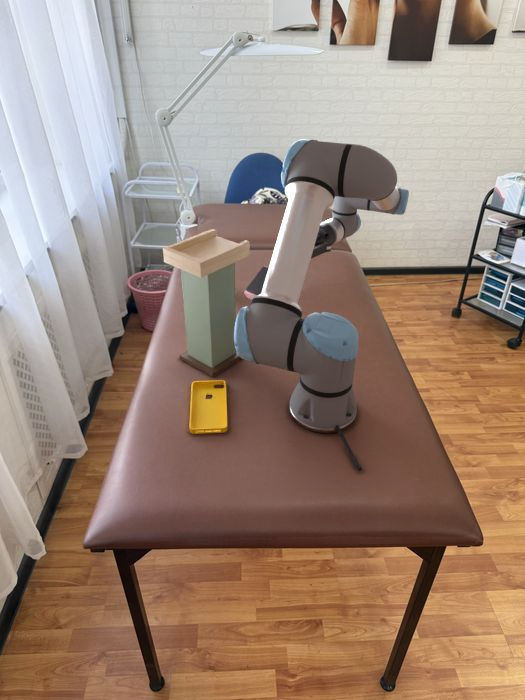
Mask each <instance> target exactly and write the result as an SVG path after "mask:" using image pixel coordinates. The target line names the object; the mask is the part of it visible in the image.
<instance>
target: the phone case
mask: <svg viewBox="0 0 525 700" xmlns="http://www.w3.org/2000/svg"><path fill="white" fill-rule="evenodd" d="M215 386H223V387H217V388H216V387H215ZM207 396H212V397H211V398H207ZM227 402H228V400H227V382H226V380H224V379H216V380H215V379H212V380H194V381H192V382H191V389H190V407H189V408H190V409H189V425H188V426H189V433H190V434H192V435H201V434H202V435H203V434H223V433H226V432H228V429H229V428H228V405H227V404H228V403H227Z"/></svg>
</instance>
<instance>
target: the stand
mask: <svg viewBox="0 0 525 700" xmlns="http://www.w3.org/2000/svg"><path fill="white" fill-rule="evenodd" d="M216 235H217V229H215V228H211V229H208V230H205V231H202V232H200V233H197V234H195V235H193V236H190V237H187V238H185V239H183V240H180V241H176V242H174V243H172V244H170V245H167V246H164V247H162V254H163V263H165V264H167V265H170V266H172V267H174V268H177V269H179V270H180V274H181V275H180V276H181V289H182V300H183V301H182V302H183V313H184V324H185V325H184V327H185V338H186V339H185V340H186V347H187V348H186V350H185V351H184V352H182V353H180V354H179V360H181V361H183V362H185V363H187V364H189V365H190V366H192V367H194V368H196V369H197V370H199V371H201V372H203V373H204V374H206V375H208V376H209V377H212V378H213V377H215V376H216V375H218V374H220V373H221V372H223V371H224V370H226V369H227V368H228V367H230V366H231V365H234V364H235V363H236V362H238V361H239V360H241V359H242V358H241V357H240V356H239V355H238V354H237V351H236V348H235V342H234V329H235V322H236V318H237V310H236V309H237V308H236V307H237V306H236V304H237V303H236V301H237V300H236V262H239V261H241V260H243V259H245V258H247V257H249V256H250V255H251V253H250V252H251V251H250V249H251V241H249V240H247V239H245V240H243V241H241V242H235V241H232V240H230V239H226V238H224V237H221V236H218V235H217V236H216Z"/></svg>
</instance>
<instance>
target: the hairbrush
mask: <svg viewBox="0 0 525 700" xmlns="http://www.w3.org/2000/svg"><path fill="white" fill-rule="evenodd" d="M268 268H269V266H266V265H263V266H262V267H261V269H260V270H259V271H258V272H257V273H256V274H255V276H254V278H253V279H252V281H251V282H249V284H248V285H247V287H246V288H245V290H244V292H243V293H244V295H245V297H246V298H247V299H249V300H251V301H252V299H253V297H255V296H257V295H259V294H261V292H262V289H263V285H264V282H265V279H266V275H267V272H268Z"/></svg>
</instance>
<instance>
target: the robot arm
mask: <svg viewBox="0 0 525 700" xmlns="http://www.w3.org/2000/svg"><path fill="white" fill-rule="evenodd" d="M280 180H281V185H282V187H283V189H284V194H285V196H286V198H287V199H288V201H287V203H286V204H287V205H286V208H285V211H284V215H283V218H282V221H281V225H280V228H279V232H278V235H277V239H276V242H275V245H274V248H273V251H272V252H271V259H270V261H269V265H268V267H269V268H268V272H267V275H266V279H265V282H264V285H263V289H262V292H261V294H259V295H257V296H255V297H253V299H252V300H251V303H250V306H247V305H245V306H242V307H241V308H240V309H239V311H238V313H237V314H236V322H235V329H234V342H235V348H236V351H237V354H238V355H239V356H240V357H241V359H242V360H245V361H248V362H252V363H254V364H255V365H264V366H268V367H272V368H276V369H279V370H284V371H289V372H292V373H297V374H299V381H297V382H298V383H297V385H296V386H295V388H294V389H293V392H292V394H291V396H290V399H289V407H288V408H289V414H290V416H291V418H292V420H293V421H294V422H295V423H297V425H299V426H300V427H301V428H303V429H305V430H307V431H310V432H314V433H317V434H334V433H338V435H339V436H338V437H340V440H341V441H342V443H343V445H344V448H345V449H346V451H347V453H348V455H349V457H350V459H351V461H352V463H353V464H354V466H355V467H356V469H357V470H358V471H362V470H363V468H362V466H361V464H360V463H359V461H358V460H357V458H356V457H355V455H354V453H353V451H352V448H351V447H350V445H349V443H348V440H347V439H346V437H345V434H344V433H343V431H345V430H347V429H348V428H349V427H351V426H352V425H353V424H354V422H355V420H356V418H357V413H358V412H357V411H358V408H357V400H356V397H355V396H356V395H355V392H354V389H353V383H354V382H353V381H354V376H355V369H356V363H357V358H358V355H359V340H360V338H359V336H360V335H359V331H358V330H357V328H356V326H354V325H353V323H352V322H351V321H349V320H348V319H347V318H345V317H343V316H341V315H339V314H336V313H334V312H333V313H332V312H326V311H321V312H320V313H319V312H313V313H310V314H308V315H307V316H306V317H305V318H302V317H303V314H304V313H303V310H302V308H301V307H300V304H299V302H300V298H301V295H302V292H303V288H304V284H305V281H306V277H307V274H308V270H309V266H310V263H311V259H314V258H316V257H319V256H321V255H323V254H325V253H329V252H332V246H333V245H336V244H337V243H339V242H341V241H343V240H345V239H347V238H349V237H351V236H353V235H354V234H356V233H357V232H358V231H359V230H360V229H361V226H362V220H361V217H360V215H359V213H358V210H360V211H361V210H362V211H368V212H374V213H375V212H377V213H383V214H384V213H385V214H390V215H393V216H394V215H397V216H398V215H399V216H402V215H404V214H405V213H406V211H407V206H408V202H409V197H410V192H409V190H408V189H406V188H401V187H398V186H397V183H398V173H397V170H396V168H395V166H394V164H393V163H392V162H391V161H390V160H389V159H388V158H387V157H386V156H384V155H383V154H382V153H380V152H378V151H377V150H375V149H373V148H371V147H368V146H366V145H362V144H358V143H357V144H355V143H344V142H334V141H333V142H332V141H321V140H318V139H315V138H312V139H298V140H296V141H294V142H293V143H292V144H291V146H290V147H289V148H288V150H287V152H286V153H285V157H284V159H283V163H282V170H281V174H280ZM331 207H332V213H331V218H329V219H327V220H325V221H322V220H323V217H324V212H325V210H327V209H329V208H331Z"/></svg>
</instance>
